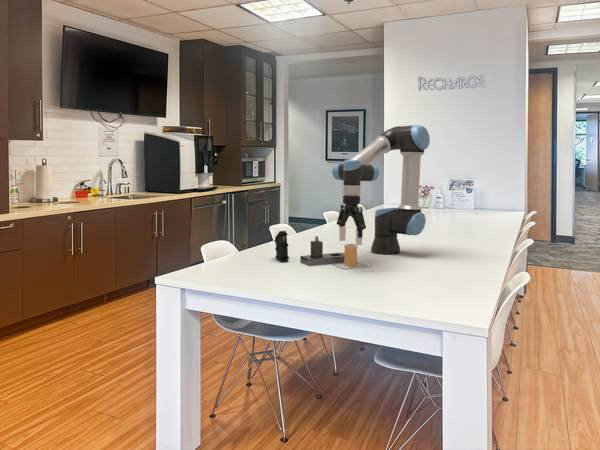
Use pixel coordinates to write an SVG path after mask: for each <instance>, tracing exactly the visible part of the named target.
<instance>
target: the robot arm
mask: <svg viewBox="0 0 600 450" xmlns="http://www.w3.org/2000/svg"><path fill="white" fill-rule="evenodd" d="M430 138H431V137H430V134H429V131H428V129H427V128H426V127H425V126H423V125H421V124H419V125H413V124H412V125H401V126H400V125H399V126H394V127H391V128H389V129H387V130H385V131H383V132H382V133H380V134H378V136H376V137H375V139H374V141H373V142H371V143H370V144H369V145H367V146H366V147H364V148H363V149H362V150H360V151H359V152H358V153H356V154H354V155H353V156H352V157H350V159H345V160H344V162H343V163H337V164H335V165H333V167H332V169H331V174H332V177H333V178H334V180H336V181H343V183H342V185H343V186H342V187H343V188H342V194H343V195H342V204H341V205H340V210H339V213H338V217H337V220H336V225H338V227H339V230H338V231H339V242H344V241H345V242H346V233H347V232H346V230H347V228H346V224H347V221H348V220H349V218H350V217H351V218H352V219H353V222H354V224H355V228H356V229H355V245H357V246H362V245H363V230H366V229H367V226H366V222H365V218H364V217H365V216H364V213H363V207H362V206H358V205H359V204H360V203H361V196H360V195H361V182H374V181H376V180H377V179H378V178H379V175H380V170H379V167H378V166H377V165H375V164H371V163H373V162H374V161H375V160H376V159H378V158H379V157H381V156H382V155H383V154H388V153H390V152H391V151H396V150H397V151H398V150H399V153H400V155H401V156H402V169H401V170H402V173H401V174H402V175H401V192H400V194H401V196H400V198H401V199H400V205H399V206H398V207H388V208H378V209H376V210H375V214H374V238H373V241H372V244H371V246H370V253H374V254H378V255H396V254H400V253H401V247H400V244H399V239H398V234H399V235H405V236H406V235H407V236H418V235H420V234H421V233H422V231H424V228H425V225H426V223H427V222H426V215H425V213H423V212H422V208H421V207H420V205H419V199H420V197H419V196H420V177H421V160H422V158H421V157H422V156H423V155H424V154H425V150H427V149H428V148H429V145H430V143H431V142H430V141H431V139H430Z"/></svg>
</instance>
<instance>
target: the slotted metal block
mask: <svg viewBox="0 0 600 450" xmlns="http://www.w3.org/2000/svg"><path fill="white" fill-rule="evenodd" d="M344 255H345V252H331V253H323V257H320V258H313V257H311V254H310V255H309V254H308V255H301V256H300V258H299V259H300V263H301V264H303V265H306V266H308V267H313V266H316V267H317V266H325V265H326V266H327V265H330V264H336V263H344ZM336 265H337V264H336Z"/></svg>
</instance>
